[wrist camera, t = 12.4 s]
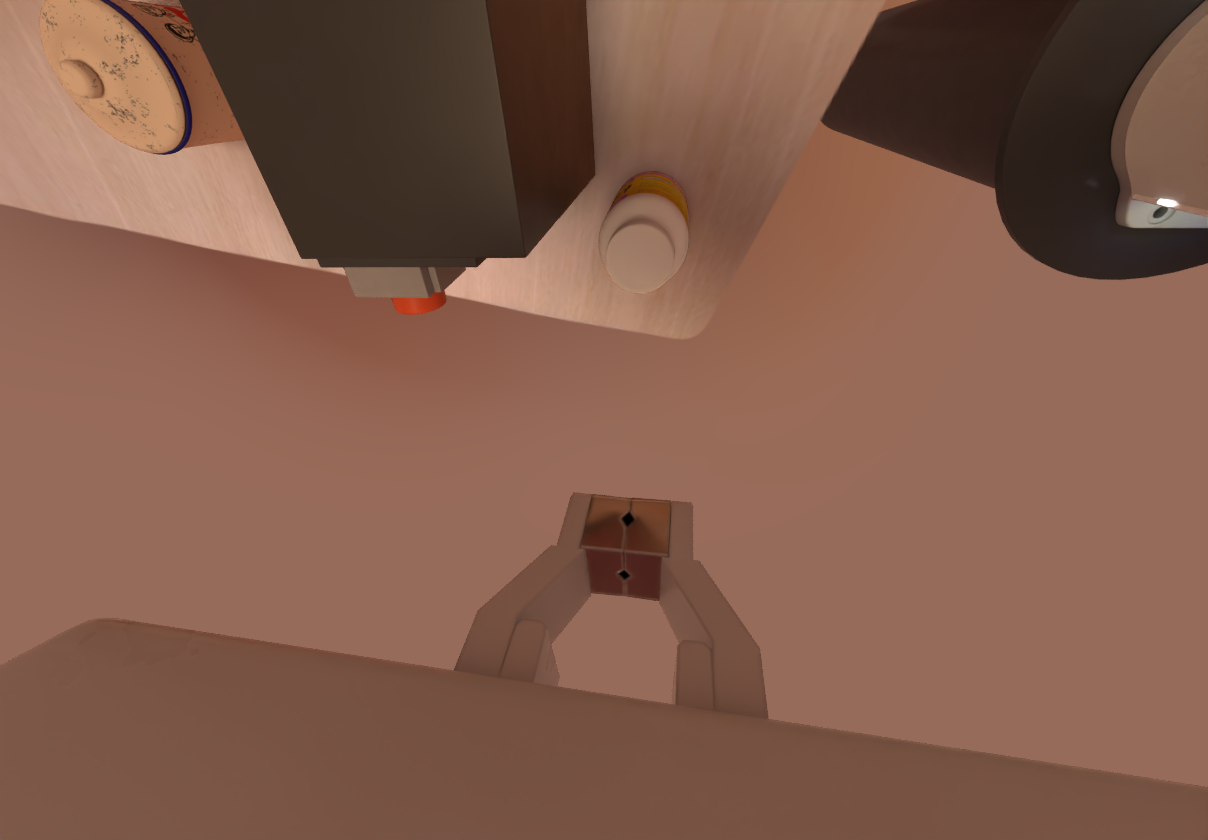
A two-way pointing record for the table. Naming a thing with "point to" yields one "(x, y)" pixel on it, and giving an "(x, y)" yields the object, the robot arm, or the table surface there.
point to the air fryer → (408, 126)
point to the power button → (419, 303)
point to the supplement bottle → (645, 233)
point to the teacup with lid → (137, 73)
